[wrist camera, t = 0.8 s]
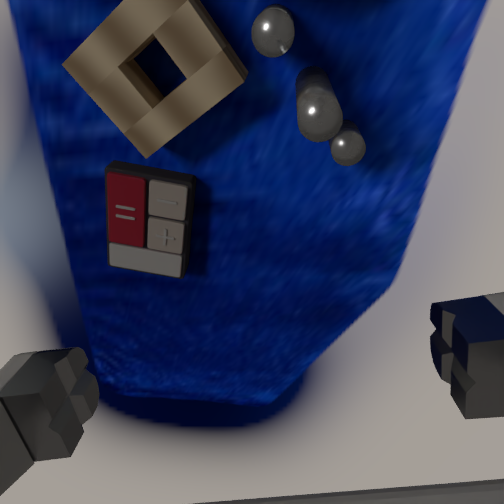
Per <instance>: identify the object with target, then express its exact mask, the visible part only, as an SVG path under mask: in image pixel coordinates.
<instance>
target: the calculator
mask: <svg viewBox="0 0 504 504" xmlns="http://www.w3.org/2000/svg"><path fill="white" fill-rule="evenodd" d="M195 187H196V177H195V176H194V175H191V174H186V173H181V172H175V171H170V170H164V169H159V168H154V167H148V166H143V165H138V164H132V163H127V162H121V161H116V160H114V161H113V162H111V163H110V164H109V165H108V166H107V167H106V168H105V195H106V226H107V256H108V265H109V266H112V267H117V268H123V269H129V270H134V271H140V272H145V273H151V274H157V275H162V276H168V277H174V278H179V279H182V278H184V275H185V273H186V270H187V267H188V264H189V254H190V239H191V229H192V219H193V209H194V198H195Z"/></svg>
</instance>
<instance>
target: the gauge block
mask: <svg viewBox="0 0 504 504" xmlns="http://www.w3.org/2000/svg"><path fill="white" fill-rule="evenodd" d="M155 38H157V40H158V41H159V42H160V44H161V45H162V46H163V47H164V49H165V50H166V51H167V53H168V54H169V55H170V57H171V58H172V59H173V61H174V62H175V63H176V65H177V66H178V67H179V69H180V70H181V71H182V73H183V74H184V75H185V77H186V78H187V79H186V80H185V81H184V82H183V83H181V84H180V85H179V86H178V87H177V88H176V89H174V90H173V91H172V92H171V93H170V94H168V95H167V96H166V97H164V96H163V95H162V94H161V92H160V91H159V90H158V89H157V87H156V86H155V85H154V84H153V82H152V81H151V80H150V79H149V77H148V76H147V75H146V74H145V72H144V71H143V70H142V69H141V67H140V66H139V65H138V64H137V62H136V61H135V60H134V58H135V57H136V56H137V55H138V54H139V53H140V52H142V51H143V50H144V49H145V48H146V47H147V46H148V45H149V44H150V43H151V42H152V41H153V40H154V39H155ZM62 65H63V67H64V68H65V69H66V70H67V71H68V72H69V73H70V74H71V75H72V77H73V78H74V79H75V80H76V81H77V82H78V83H79V84H80V86H81V87H82V88H83V89H84V90H85V91H86V92H87V93H88V94H89V96H90V97H91V98H92V99H93V100H94V101H95V102H96V103H97V105H98V106H99V107H100V108H101V109H102V110H103V111H104V112H105V113H106V115H107V116H108V117H109V118H110V119H111V120H112V121H113V122H114V124H115V125H116V126H117V127H118V128H119V129H120V130H121V131H122V132H123V134H124V135H125V136H126V137H127V138H128V139H129V140H130V141H131V143H132V144H133V145H134V146H135V147H136V148H137V149H138V150H139V151H140V153H141V154H142V155H143V156H144V157H145V158H148V157H149V156H150V155H151V154H153V153H154V152H155V151H157V150H158V149H159V148H160V147H162V146H163V145H164V144H166V143H167V142H168V141H169V140H171V139H172V138H173V137H174V136H176V135H177V134H178V133H180V132H181V131H182V130H183V129H185V128H186V127H187V126H189V125H190V124H191V123H192V122H194V121H195V120H196V119H197V118H199V117H200V116H201V115H203V114H204V113H205V112H206V111H208V110H209V109H210V108H211V107H213V106H214V105H215V104H217V103H218V102H219V101H220V100H222V99H223V98H224V97H226V96H227V95H228V94H229V93H231V92H232V91H233V90H234V89H236V88H237V87H238V86H240V85H241V84H242V83H243V82H244V81H245V79H246V77H247V75H248V71H247V69H246V68H245V66H244V65H243V63H242V62H241V60H240V59H239V57H238V56H237V54H236V53H235V52H234V50H233V49H232V47H231V46H230V44H229V43H228V41H227V40H226V38H225V37H224V35H223V34H222V32H221V31H220V29H219V28H218V26H217V25H216V23H215V22H214V21H213V19H212V18H211V16H210V15H209V13H208V12H207V10H206V9H205V7H204V6H203V4H202V3H201V1H200V0H123V1H122V2H121V3H120V5H119V6H118V7H117V8H116V9H115V10H114V11H113V12H112V13H111V14H110V15H109V16H108V17H107V18H106V19H105V20H104V21H103V22H102V23H101V24H100V25H99V26H98V27H97V28H96V29H95V31H94V32H93V33H92V34H91V35H90V36H89V37H88V38H87V39H86V40H85V41H84V42H83V43H82V44H81V45H80V46H79V47H78V48H77V49H76V50H75V51H74V52H73V53H72V54H71V56H70V57H69V58H68V59H67V60H66V61H65V62H64V63H63V64H62Z"/></svg>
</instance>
